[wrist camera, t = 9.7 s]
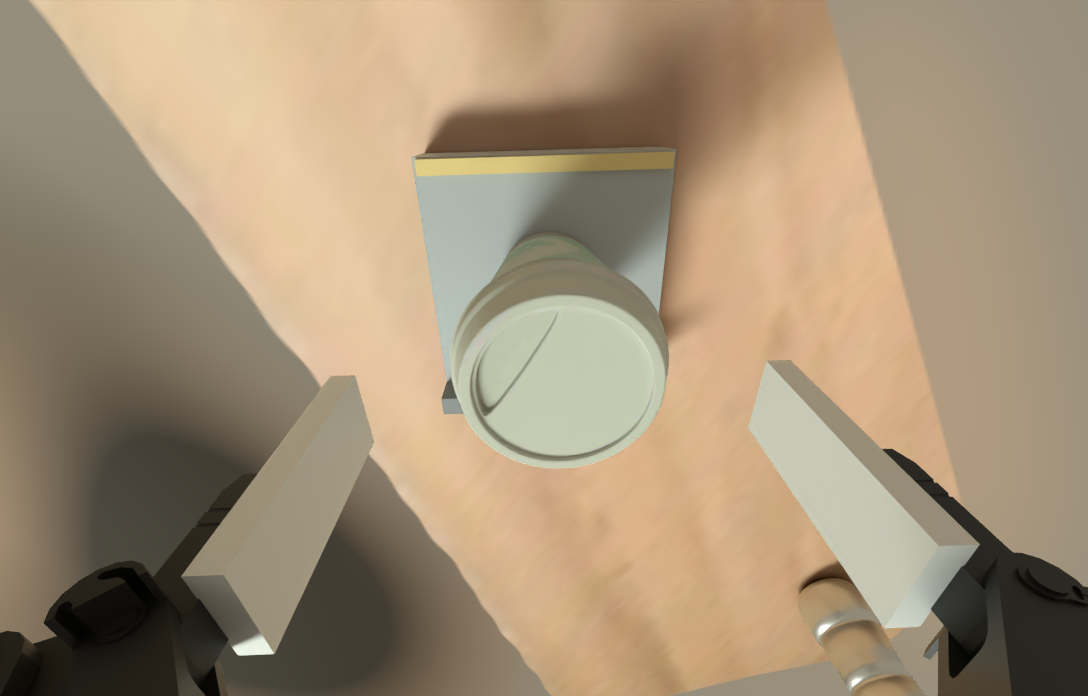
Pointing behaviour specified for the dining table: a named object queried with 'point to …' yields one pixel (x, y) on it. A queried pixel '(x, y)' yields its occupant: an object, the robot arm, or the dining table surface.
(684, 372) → the dining table surface
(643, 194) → the plate
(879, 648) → the plastic bottle
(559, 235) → the coffee cup
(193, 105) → the dining table surface
